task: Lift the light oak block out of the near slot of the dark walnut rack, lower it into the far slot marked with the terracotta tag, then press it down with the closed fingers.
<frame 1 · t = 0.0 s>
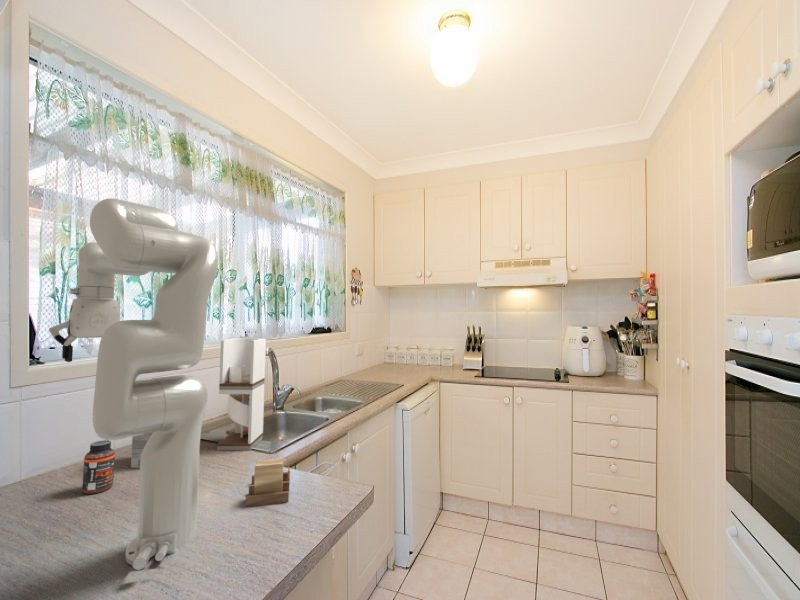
hand: (92, 359, 95), 31 cm above the countertop, tool pointing down, fingers open, 9 cm apart
rack: (269, 498, 87), on the countertop
display case: (240, 444, 123), on the countertop
supplement bottle: (98, 490, 90), on the countertop
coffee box: (151, 462, 107), on the countertop
block: (268, 497, 84), point 1 cm above the countertop, touching rack
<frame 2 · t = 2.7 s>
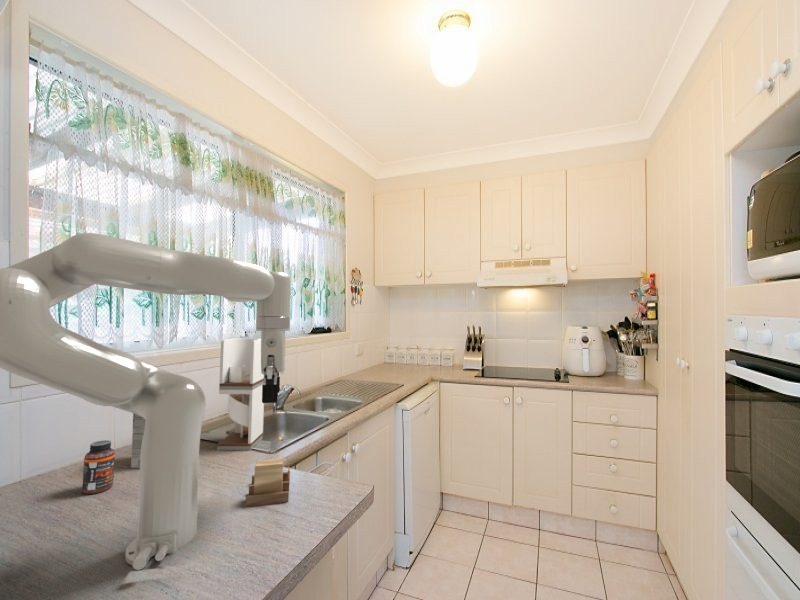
hand: (271, 397, 85), 24 cm above the countertop, tool pointing down, fingers open, 9 cm apart
nothing on the countertop moved.
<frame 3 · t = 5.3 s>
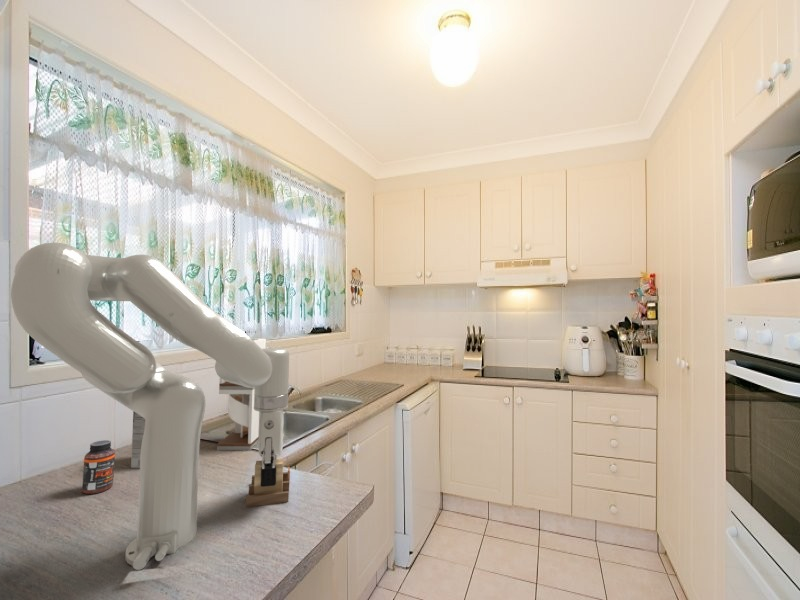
hand: (268, 481, 84), 5 cm above the countertop, tool pointing down, fingers closed on block, 3 cm apart
block: (268, 497, 84), point 2 cm above the countertop, touching gripper, rack
everything else where it was.
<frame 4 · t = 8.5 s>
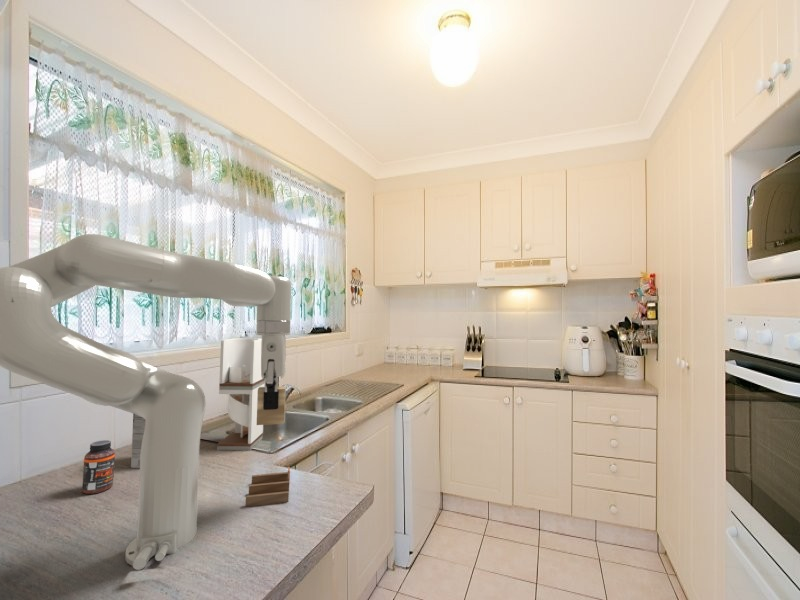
hand: (271, 406, 85), 22 cm above the countertop, tool pointing down, fingers closed on block, 3 cm apart
block: (271, 422, 85), point 18 cm above the countertop, touching gripper
everything else where it was.
when the fingers open (6 cm above the countertop, at t = 11.8 s): block stays where it is, resting on rack.
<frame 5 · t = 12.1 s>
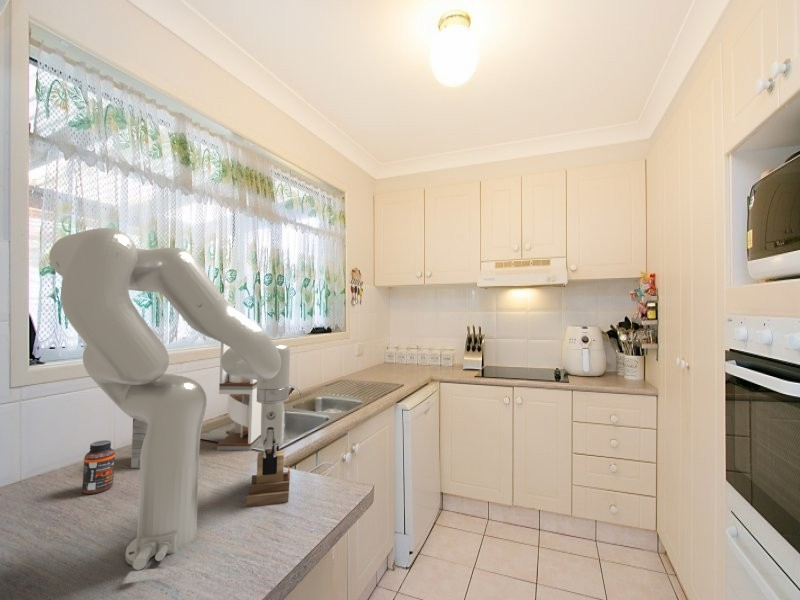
hand: (270, 467, 89), 6 cm above the countertop, tool pointing down, fingers open, 6 cm apart
block: (270, 487, 89), point 1 cm above the countertop, touching rack
everything else where it was.
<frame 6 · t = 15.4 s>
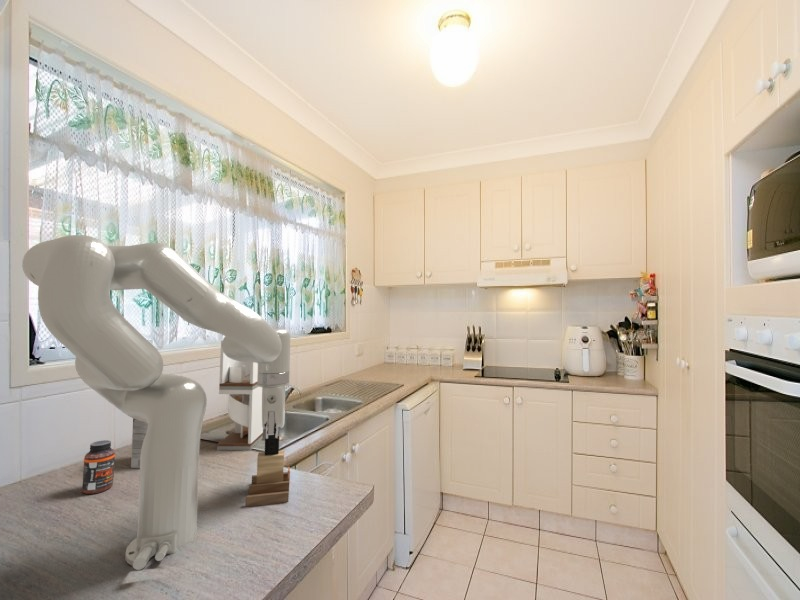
hand: (271, 453, 90), 10 cm above the countertop, tool pointing down, fingers closed
block: (270, 487, 89), point 1 cm above the countertop, touching gripper, rack
everything else where it was.
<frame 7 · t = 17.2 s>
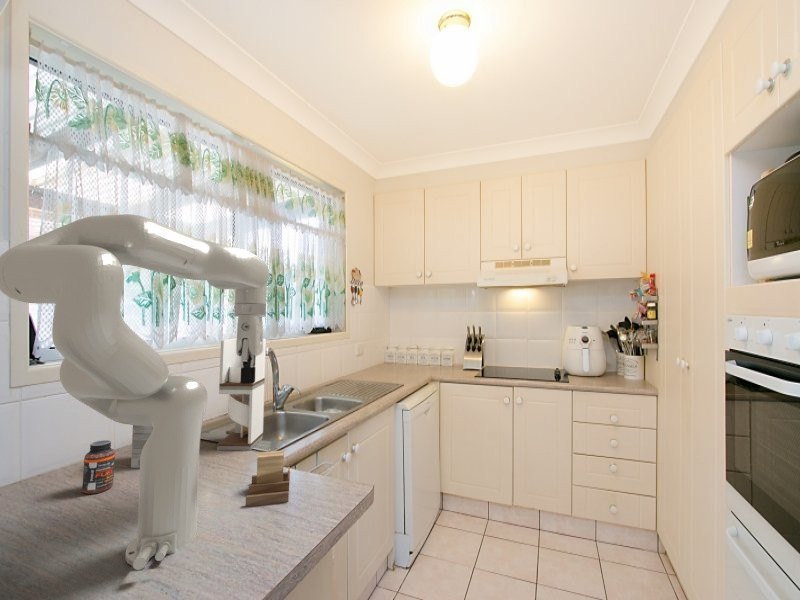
hand: (247, 382, 93), 26 cm above the countertop, tool pointing down, fingers closed
block: (270, 487, 89), point 1 cm above the countertop, touching rack
everything else where it was.
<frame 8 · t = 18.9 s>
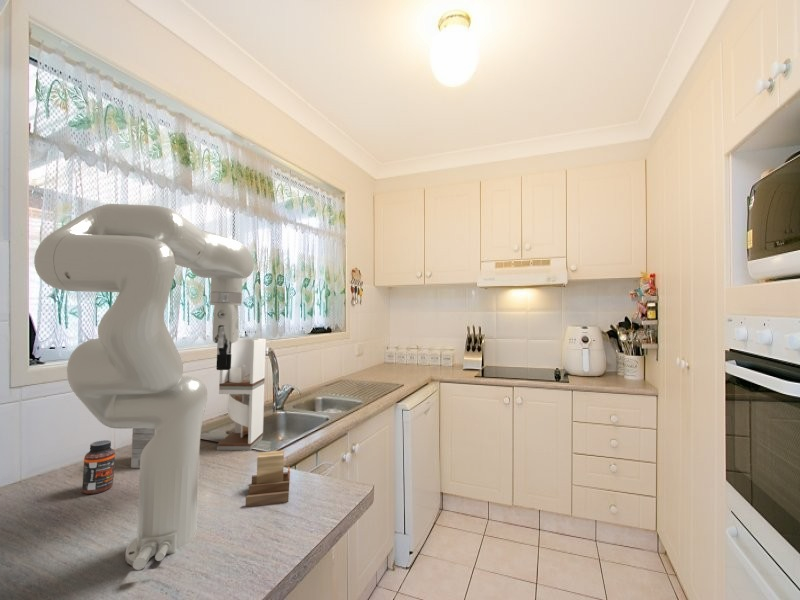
hand: (223, 369, 96), 29 cm above the countertop, tool pointing down, fingers closed
nothing on the countertop moved.
at the end: block 0.1 cm from the target spot on the rack, point 1.5 cm above the rack's base; block tilted 0°; the gripper is holding nothing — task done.
